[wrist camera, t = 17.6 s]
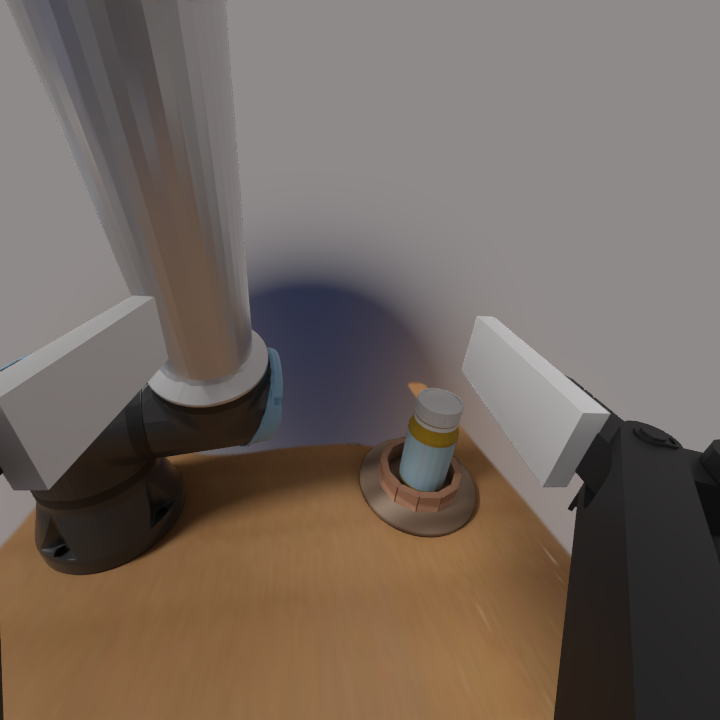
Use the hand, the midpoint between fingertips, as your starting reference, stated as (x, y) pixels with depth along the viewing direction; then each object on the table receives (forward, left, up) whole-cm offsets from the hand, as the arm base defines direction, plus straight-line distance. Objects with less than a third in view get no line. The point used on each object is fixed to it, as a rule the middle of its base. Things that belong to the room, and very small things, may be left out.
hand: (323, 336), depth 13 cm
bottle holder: (-11, +24, -35) cm, 43 cm away
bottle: (-11, +24, -34) cm, 43 cm away
